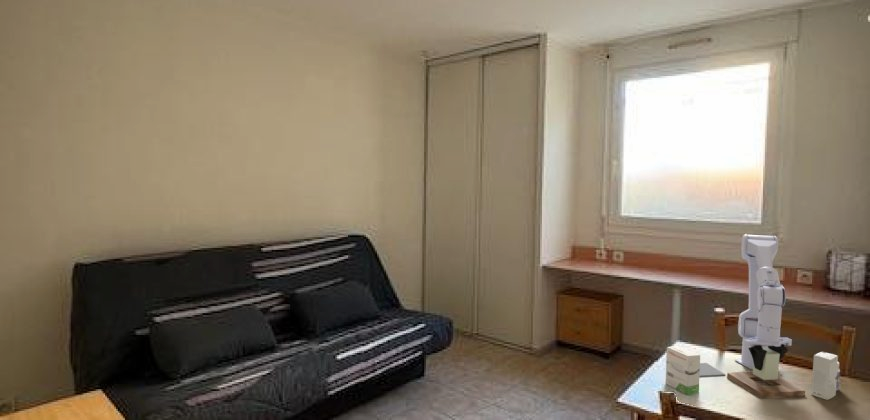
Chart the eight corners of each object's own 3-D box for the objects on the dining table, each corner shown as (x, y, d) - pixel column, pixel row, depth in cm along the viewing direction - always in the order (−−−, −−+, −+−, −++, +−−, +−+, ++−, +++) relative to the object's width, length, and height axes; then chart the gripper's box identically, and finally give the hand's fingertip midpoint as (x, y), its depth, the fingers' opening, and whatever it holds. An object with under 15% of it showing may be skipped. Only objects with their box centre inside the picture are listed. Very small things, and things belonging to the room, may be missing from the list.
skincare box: (828, 400, 142) (831, 360, 141) (809, 394, 146) (813, 354, 144) (836, 395, 145) (840, 355, 144) (818, 389, 149) (821, 350, 148)
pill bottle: (833, 392, 147) (836, 365, 146) (815, 386, 151) (817, 359, 150) (841, 389, 149) (844, 362, 148) (823, 382, 153) (825, 356, 152)
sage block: (765, 372, 153) (767, 348, 152) (777, 379, 148) (779, 353, 148) (752, 373, 152) (754, 348, 151) (764, 380, 148) (766, 354, 147)
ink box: (699, 393, 146) (702, 354, 145) (686, 395, 144) (689, 356, 143) (676, 380, 154) (678, 344, 153) (664, 383, 152) (666, 346, 151)
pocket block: (766, 375, 158) (767, 370, 158) (804, 395, 145) (805, 390, 144) (727, 377, 157) (727, 372, 156) (761, 398, 143) (761, 393, 143)
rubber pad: (706, 364, 167) (706, 362, 167) (725, 375, 158) (725, 374, 158) (681, 365, 166) (681, 364, 166) (699, 376, 157) (699, 375, 157)
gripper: (757, 330, 144) (754, 375, 145) (801, 328, 146) (798, 373, 147) (739, 323, 151) (736, 365, 152) (782, 321, 153) (778, 363, 154)
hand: (765, 368), depth 150 cm, fingers closed on sage block, 4 cm apart
